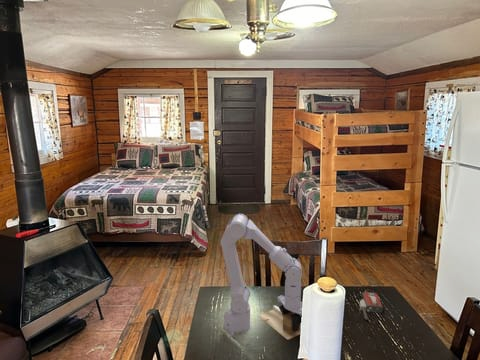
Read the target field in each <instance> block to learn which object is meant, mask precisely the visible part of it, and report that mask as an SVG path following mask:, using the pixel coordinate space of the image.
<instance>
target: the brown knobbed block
mask: <svg viewBox="0 0 480 360" xmlns="http://www.w3.org/2000/svg"><path fill="white" fill-rule="evenodd" d="M294 313H295V312H289V313H287V314H284V315H283V320H282V322H283V330H284V331H285V332H287V333H288V334H289V335H292V334H294V333H296V332H298V331H300V326H299V330H297V331H295V332H294V331H293V323H292V319H291V316H290V315H291V314H294Z"/></svg>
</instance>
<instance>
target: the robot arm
mask: <svg viewBox="0 0 480 360" xmlns="http://www.w3.org/2000/svg"><path fill="white" fill-rule="evenodd" d="M224 229H225V230H224V232H223V235H222V237H221V239H220V245H221V251H222V254H223V260H224V262H225V267H226V272H227V276H228V281H229V285H230V298H231V299H230V303H229V305H230V308H229V309H228V310H226V311H225V312H224V314H223V327H222V329H223V330H224V331H225V333H227V334H228V336H230V337H231V338H232V339H233V340H236V337H235V336H234V335H236V334H239V333H244V332H246V331H248V330H249V329H251V328H250V327H251V305H250V304H249V300H250V296H251V292H250V289H249V288H248V287H247V285H246V282H245V281H244V277H243V273H242V269H241V264H240V260H239V255H238V250H237V246H236V243H237V241H239V240H241V239H242V238H243V237H244V238H243V239H244V240H253V241H254V242H255V243H256V244H258V245H259V246H260V247H262V248H263V250H265V252H267V253H268V258H269V259H270V260H271V261H272V263H274V264H275V265H276V266H277V267H278V268H279V269H280V270H281V271H282V272H284V275H285V276H284V277H285V280H284V281H285V282H284V295H279V296H277V302H279V303H281V305H280V306H278V308H279V309H280V311H281V313H282V315H284V314H287V313H289V312H295V313H294V314H291V315H290V316H291V319H292V323H293V331H294V332H295V331H297V330H299V326H300V324H302V321H301V317H302V307H303V305H302V304H303V302H302V301H301V297H302V296H301V295H302V277H303V272H302V270H303V268H302V265H301V263H300V261H299V259H298V258H297V259H296V258H295V257H292V256H291V255H290V254H289V253H288V252H287V249H286V248H285V247H283V248H282V246H280V245H279V246H278V245H275V244H274V243H273V242H272V241H271V240H270V239H269V238H268V237H267V236H266V235H265V234H264V233H263V232H262V230H260V229H259V228H258V226H257V225H256V224H255V223H254V221H253V220H251V219H249V218H248V216H246V215H245V214H243V213H238V214H235V215H233V217H232V218H231V219H230V220H229V221H228V224H227V226H226V228H224Z"/></svg>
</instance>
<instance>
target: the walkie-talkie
mask: <svg viewBox="0 0 480 360" xmlns="http://www.w3.org/2000/svg"><path fill="white" fill-rule="evenodd" d="M360 297H361V300H360V301H359V309H360V311H362V312H363V316H364V319H365V320H366V321H368V320H369V318H368V315H367V312H368V313H376V314H380V313H381V314H382V313H383V310H384V308H383V304H382V302H381V300H380V297H379V294H378V293H376V292H373V291H372V292H371V291H363V292H362V293H361V294H360Z"/></svg>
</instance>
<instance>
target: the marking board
mask: <svg viewBox="0 0 480 360" xmlns="http://www.w3.org/2000/svg"><path fill="white" fill-rule="evenodd" d="M257 316H258V317H259V318H260V320H261V319H262V320H263V321H264V322H265V323H267V324H268V325H269V326H270V327H271V328H273V329H274V330H275V331H276V332H278V334H280V335H281V336H282V337H283V338H285V339H286V340H287V341H288V340H291V339H293V338H295V337H297V336H299V335H301V334H300V331H298V332H296V333H294V334H292V335H289V334H288V333H287V332H285V331H284V330H283V322H282V320H283V315H282V313H281V311H280V309H279V306H278V305H273V306H272V309H271V310H268V311H265V312H263V313H260V314H258V315H257Z"/></svg>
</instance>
